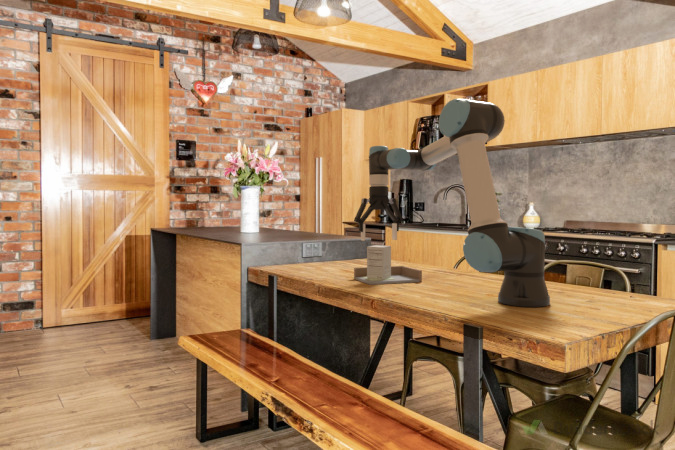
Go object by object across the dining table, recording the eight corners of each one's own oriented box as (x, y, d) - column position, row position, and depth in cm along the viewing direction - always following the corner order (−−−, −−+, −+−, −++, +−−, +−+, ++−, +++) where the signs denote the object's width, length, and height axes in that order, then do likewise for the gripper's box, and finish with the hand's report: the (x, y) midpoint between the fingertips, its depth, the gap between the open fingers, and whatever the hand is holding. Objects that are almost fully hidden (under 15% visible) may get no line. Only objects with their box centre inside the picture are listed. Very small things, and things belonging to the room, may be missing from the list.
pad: (395, 279, 207) (395, 279, 207) (371, 280, 203) (371, 280, 203) (384, 276, 216) (384, 275, 216) (361, 277, 213) (361, 276, 213)
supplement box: (374, 276, 215) (375, 244, 214) (391, 277, 211) (391, 245, 210) (366, 278, 208) (366, 246, 208) (383, 279, 205) (383, 247, 204)
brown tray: (421, 281, 208) (421, 270, 208) (370, 284, 200) (370, 272, 200) (402, 276, 223) (402, 265, 222) (354, 279, 215) (354, 267, 215)
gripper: (402, 186, 216) (402, 238, 217) (345, 186, 208) (345, 240, 208) (411, 185, 209) (411, 239, 210) (352, 185, 201) (353, 241, 201)
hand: (379, 240), depth 209 cm, fingers open, 13 cm apart
